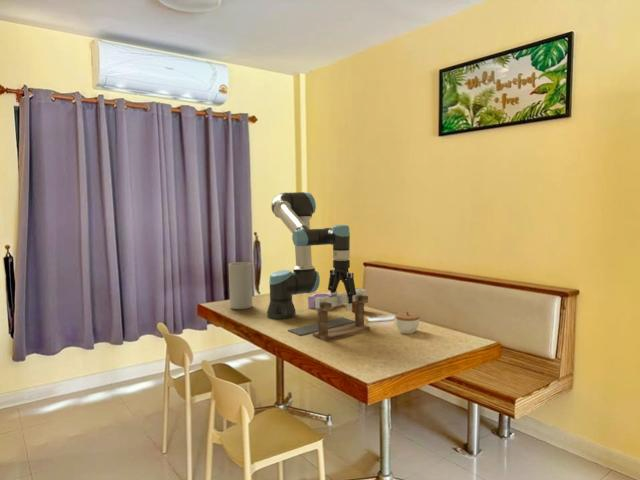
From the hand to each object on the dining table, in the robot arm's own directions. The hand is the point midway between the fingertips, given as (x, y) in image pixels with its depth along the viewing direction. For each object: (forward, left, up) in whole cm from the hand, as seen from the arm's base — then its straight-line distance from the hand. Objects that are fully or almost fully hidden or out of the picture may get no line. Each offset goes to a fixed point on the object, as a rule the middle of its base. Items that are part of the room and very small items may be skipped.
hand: (341, 308), depth 207 cm
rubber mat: (-14, 0, -12) cm, 18 cm away
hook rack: (0, 0, -12) cm, 12 cm away
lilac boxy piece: (-44, +26, -12) cm, 53 cm away
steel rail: (0, 0, +2) cm, 2 cm away
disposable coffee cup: (-24, +32, -12) cm, 42 cm away
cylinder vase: (-75, -11, -12) cm, 77 cm away
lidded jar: (+18, +24, -12) cm, 32 cm away
